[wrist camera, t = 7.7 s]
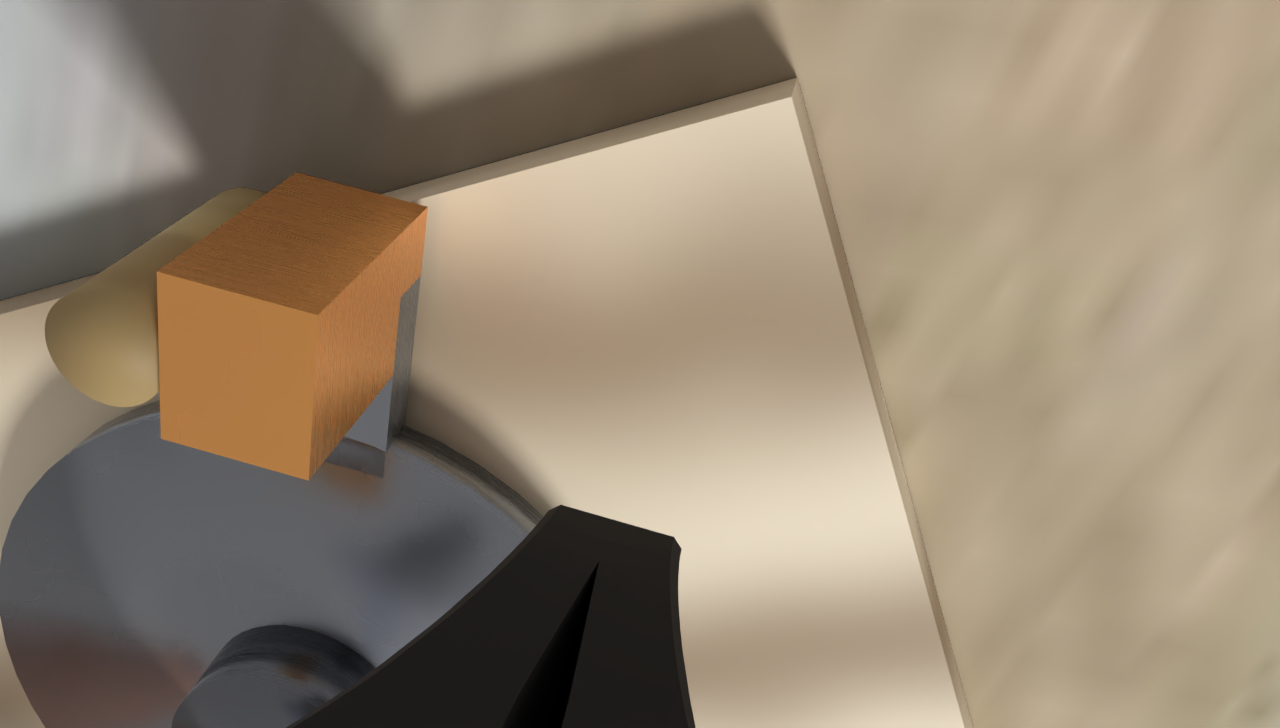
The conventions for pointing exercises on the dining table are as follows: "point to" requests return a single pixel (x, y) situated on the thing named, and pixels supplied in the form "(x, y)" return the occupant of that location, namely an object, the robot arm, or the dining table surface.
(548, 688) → the robot arm
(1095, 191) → the dining table surface
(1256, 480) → the dining table surface
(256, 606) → the flange plate
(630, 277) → the board
